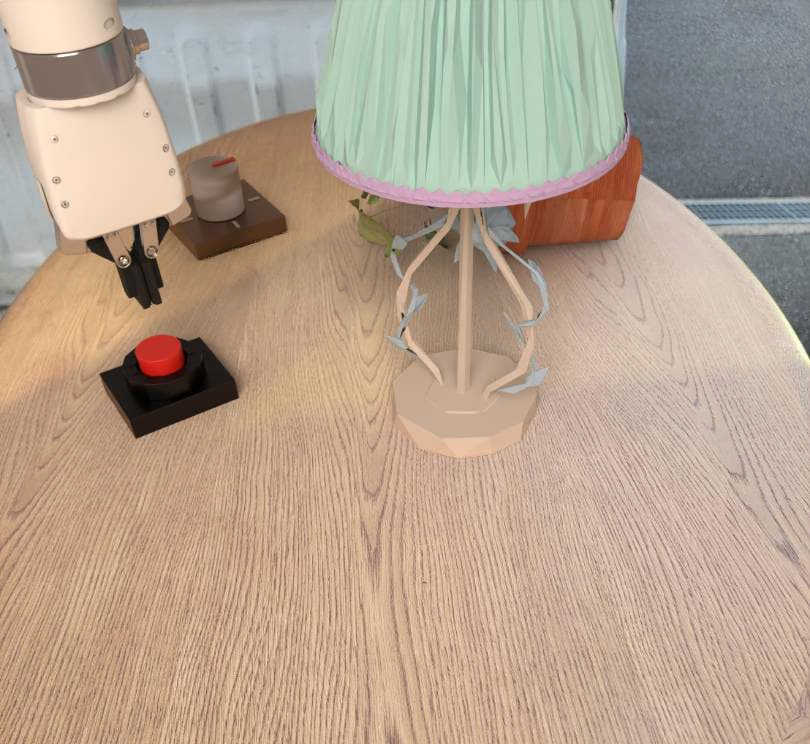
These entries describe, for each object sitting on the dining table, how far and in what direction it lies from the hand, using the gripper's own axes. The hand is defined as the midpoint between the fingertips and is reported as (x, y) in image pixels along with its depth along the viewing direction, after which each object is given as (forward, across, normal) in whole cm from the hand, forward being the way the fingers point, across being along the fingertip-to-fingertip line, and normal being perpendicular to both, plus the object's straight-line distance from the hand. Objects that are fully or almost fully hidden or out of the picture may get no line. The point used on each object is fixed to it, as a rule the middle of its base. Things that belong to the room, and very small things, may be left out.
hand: (147, 298), depth 73 cm
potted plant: (+11, -37, -6) cm, 39 cm away
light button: (+7, 0, 0) cm, 7 cm away
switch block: (+10, 0, 0) cm, 10 cm away
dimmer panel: (+10, -17, -26) cm, 33 cm away
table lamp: (+11, -21, +17) cm, 29 cm away
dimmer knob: (+8, -17, -26) cm, 32 cm away
